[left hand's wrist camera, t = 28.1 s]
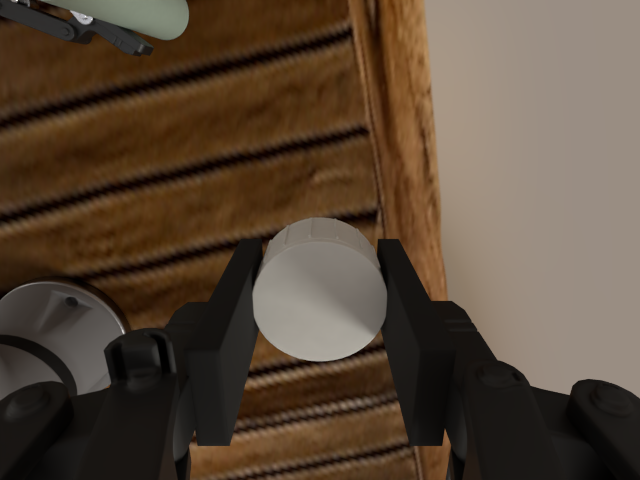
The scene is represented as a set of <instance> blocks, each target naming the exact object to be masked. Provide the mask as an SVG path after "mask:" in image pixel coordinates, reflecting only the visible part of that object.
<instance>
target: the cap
mask: <svg viewBox="0 0 640 480" xmlns="http://www.w3.org/2000/svg"><path fill="white" fill-rule="evenodd" d="M380 268H381V267H380V264H379V261H378V258H377V255H376V252H375V249H374V246H373V245H372V246H371V244H370V243H369V241H368V240H367V239H366V238H365V236H364V235H362V234H361V233H360V232H359V230H358V229H355V228H354V227H352V226H350V225H348V224H347V223H344V222H342V221H339V220H337V219H330V218H310V219H305V220H301V221H298V222H296V223H293V224H291V225H288V226H287V227H286V228H285V229H283V230H282V231H281V232H279V233H278V234H277V235H276V236H275V237H274V239H273V240H270V242H269V245H268V248H267V249H266V252H265V254H264V257H263V260H262V261H261V264H260V267H259V270H258V273H257V276H256V279H255V282H254V287H253V291H252V295H253V310H254V318H255V321H256V324H257V326H258V327H259V329H260V331H261V332H262V334H263V335H264V336H265V338H266V339H267V340H268V341H269V342H270V343H271V344H273V345H274V346H275V347H277V348H278V349H280V350H281V351H283V352H284V353H287V354H289V355H291V356H294V357H297V358H300V359H304V360H310V361H329V360H335V359H340V358H343V357H346V356H349V355H351V354H353V353H355V352H357V351H359V350H360V349H362V348H363V347H364V346H366V345H367V344H368V343H369V342H370V341H371V340H372V339H373V338H374V337H375V336H376V334H377V333H378V332H379V330H380V329H381V327H382V325H383V323H384V320H385V317H386V307H387V289H386V285H385V282H384V279H383V276H382V273H381V270H380Z"/></svg>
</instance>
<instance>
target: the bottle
mask: <svg viewBox="0 0 640 480" xmlns="http://www.w3.org/2000/svg"><path fill="white" fill-rule="evenodd" d="M40 1H43V2H46V3H50V4H53V5H56V6H59V7H62V8H65V9H68V10H71V11H74V12H78V13H81V14H84V15H87V16H90V17H93V18H96V19H99V20H102V21H106V22H109V23H112V24H115V25H118V26H121V27H124V28H127V29H130V30H134V31H137V32H140V33H143V34H146V35H149V36H152V37H155V38H158V39H162V40H171V39H174V38H176V37H178V36H180V35H181V34H182V33H183V32H184V30H185V28H186V26H187V24H188V19H189V10H188V5H187V2H186V0H40Z"/></svg>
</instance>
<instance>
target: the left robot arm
mask: <svg viewBox="0 0 640 480" xmlns="http://www.w3.org/2000/svg"><path fill="white" fill-rule="evenodd" d="M377 258H378V261H379V264H380V267H381V268H380V270H381V273H382V276H383V279H384V282H385V285H386V289H387V307H386V317H385V320H384V323H383V325H382V327H381V333H382V336H383V340H384V344H385V348H386V352H387V356H388V360H389V364H390V368H391V372H392V376H393V380H394V384H395V388H396V392H397V396H398V400H399V404H400V408H401V412H402V416H403V420H404V424H405V428H406V432H407V436H408V440H409V444H410V446H442V443H443V437H444V430H445V429H446V432H447V435H448V438H449V440H450V443H451V450H450V456H449V463H448V469H447V475H446V480H640V398H638V397H637V396H636V395H634V394H633V393H631V392H630V391H628V390H626V389H624V388H622V387H620V386H618V385H615V384H612V383H609V382H605V381H602V380H593V379H586V380H580V381H578V382H577V383H575V384H574V385H573V386H572V390H571V393H570V395H566V394H562V393H557V392H552V391H548V390H543V389H539V388H536V387H532V386H530V384H529V382H528V380H527V379H526V378H525V376H524V375H523V374H522V373H521V372H520V371H518V370H517V369H516V368H515V367H513V366H511V365H509V364H507V363H505V362H502V361H498V360H497V359H496V357H495V356H494V354H493V353H492V351H491V350H490V348H489V347H488V345H487V344H486V342H485V341H484V339H483V338H482V336H481V334H480V333H479V332H477V328H476V327H475V325H474V324H473V323H472V322H471V319H470V318H469V316H468V315H467V313H466V312H465V310H464V309H462V308H461V307H459V306H458V305H457V304H455V303H454V302H452V301H431V300H430V298H429V296H428V294H427V293H426V291H425V289H424V287H423V285H422V283H421V281H420V279H419V277H418V275H417V273H416V272H415V270H414V268H413V266H412V264H411V262H410V260H409V258H408V256H407V254H406V252H405V251H404V249H403V247H402V245H401V243H400V241H399V239H378V247H377ZM262 260H263V251H262V239H241V240H240V242H239V244H238V246H237V248H236V250H235V252H234V254H233V256H232V258H231V260H230V261H229V263H228V265H227V267H226V269H225V271H224V273H223V275H222V277H221V279H220V281H219V283H218V284H217V286H216V288H215V290H214V292H213V294H212V296H211V298H210V300H209V302H188V303H186V304H185V305H184V306H182V307H181V308H179V309H178V310H177V311H175V313H174V314H173V316H172V317H171V319H170V320H169V322H168V324H167V325H166V327H165V328H164V330H161V329H157V328H143V329H139V330H134V331H131V328H130V326H129V323H128V321H127V319H126V317H125V316H124V314H123V313H122V311H121V310H120V308H119V307H118V306H117V305H116V304H115V303H114V302H113V301H112V300H111V299H110V298H109V297H107V296H106V295H105V294H103V293H102V292H100V291H99V290H97V289H96V288H94V287H92V286H90V285H88V284H85V283H83V282H80V281H77V280H74V279H69V278H63V277H43V278H37V279H33V280H30V281H28V282H25V283H23V284H22V285H20V286H18V287H17V288H15V289H14V290H12V291H11V292H9V293H8V294H7V295H5V296H4V297H3V298H2V299H1V300H0V480H190V470H191V457H190V450H189V444H190V442H191V439H192V436H193V433H194V431H195V432H196V438H197V445H198V446H230V443H231V439H232V435H233V431H234V427H235V423H236V419H237V415H238V411H239V407H240V403H241V399H242V395H243V391H244V387H245V383H246V379H247V375H248V371H249V367H250V363H251V359H252V355H253V351H254V347H255V343H256V339H257V336H258V332H259V327H258V326H257V324H256V321H255V318H254V310H253V295H252V291H253V287H254V282H255V279H256V276H257V273H258V270H259V267H260V264H261V261H262ZM110 384H111V385H110ZM108 385H110V387H109V388H106V387H107V386H108ZM104 388H106V389H104Z"/></svg>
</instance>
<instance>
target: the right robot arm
mask: <svg viewBox="0 0 640 480" xmlns="http://www.w3.org/2000/svg"><path fill="white" fill-rule="evenodd" d="M38 8H39V4H38V3H37V1H36V0H0V15H1V16H3V17H6V18H9V19H11V20H14V21H16V22H19V23H21V24H24V25H27V26H29V27H32V28H34V29H37V30H39V31H42V32H45V33H47V34H50V35H52V36H55V37H57V38H60V39H63V40H65V41H70V42H75V43H81V44H89V43H90V42H91V39H92V37H93V36H94V35H95V34H97V33H98V34H99V35H101V36H102V37H104V38H105V39H106V40H108V41H109V42H111V43H112V44H114V45H115V46H116V47H118V48H119V49H120V50H122V51H123V52H125V53H127V54H131V55H136V56H141V54H144V55H149V56H150V55H151V53H152V51H153V49H154V47H153V46H152V45H150V44H149V43H148V42H146V41H145V40H144V39H142V38H141V37H139V36H138V35H137V34H135V33H134V32H133V31H131V30H130V29H127V28H124V27H121V26H118V25H115V24H112V23H109V22H106V21H102V20H99V19H96V18H93V17H90V16H87V15H84V14H81V13H78V12H74V11H71V10H70V11H71V12H72V14H73V15H74V16H73V17H72V18H71V19H70V20H69V21H66V20H64V19H61V18H59V17H56V16H54V15H51V14H49V13H46V12H44V11H41V10H38Z"/></svg>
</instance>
